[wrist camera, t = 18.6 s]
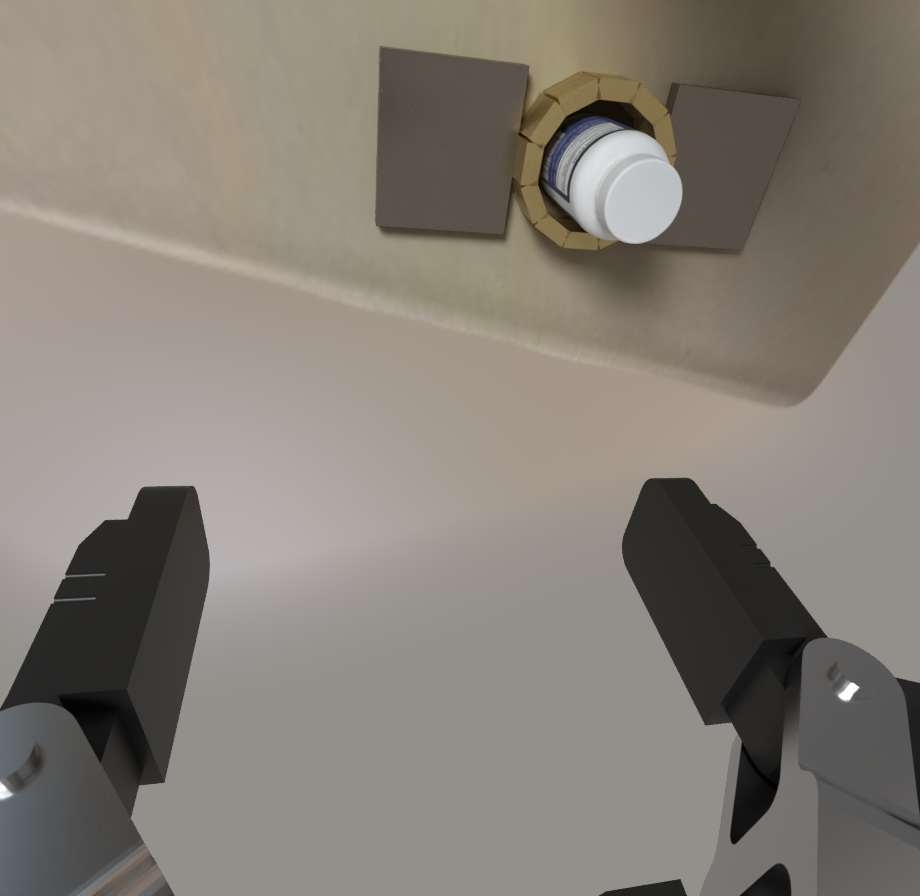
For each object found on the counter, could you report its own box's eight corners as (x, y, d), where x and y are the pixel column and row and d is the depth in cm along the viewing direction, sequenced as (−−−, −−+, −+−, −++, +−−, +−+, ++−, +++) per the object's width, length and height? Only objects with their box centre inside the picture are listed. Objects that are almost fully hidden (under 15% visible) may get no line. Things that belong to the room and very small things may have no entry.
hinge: (379, 46, 31) (382, 50, 29) (791, 97, 36) (822, 104, 34) (375, 220, 36) (377, 236, 34) (734, 245, 41) (757, 260, 39)
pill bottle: (632, 177, 37) (708, 223, 30) (557, 222, 38) (612, 278, 31) (604, 91, 34) (681, 118, 26) (522, 143, 35) (574, 184, 27)
